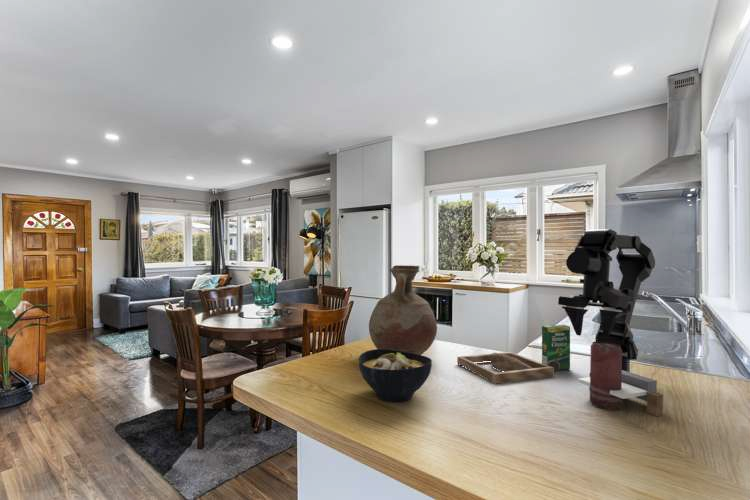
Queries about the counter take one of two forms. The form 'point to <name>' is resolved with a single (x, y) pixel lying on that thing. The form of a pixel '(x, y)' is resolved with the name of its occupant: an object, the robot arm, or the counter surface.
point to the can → (605, 374)
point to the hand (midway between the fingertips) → (592, 336)
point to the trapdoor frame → (654, 403)
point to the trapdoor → (631, 386)
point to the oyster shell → (507, 362)
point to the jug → (403, 317)
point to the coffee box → (556, 346)
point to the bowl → (394, 373)
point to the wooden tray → (500, 377)
